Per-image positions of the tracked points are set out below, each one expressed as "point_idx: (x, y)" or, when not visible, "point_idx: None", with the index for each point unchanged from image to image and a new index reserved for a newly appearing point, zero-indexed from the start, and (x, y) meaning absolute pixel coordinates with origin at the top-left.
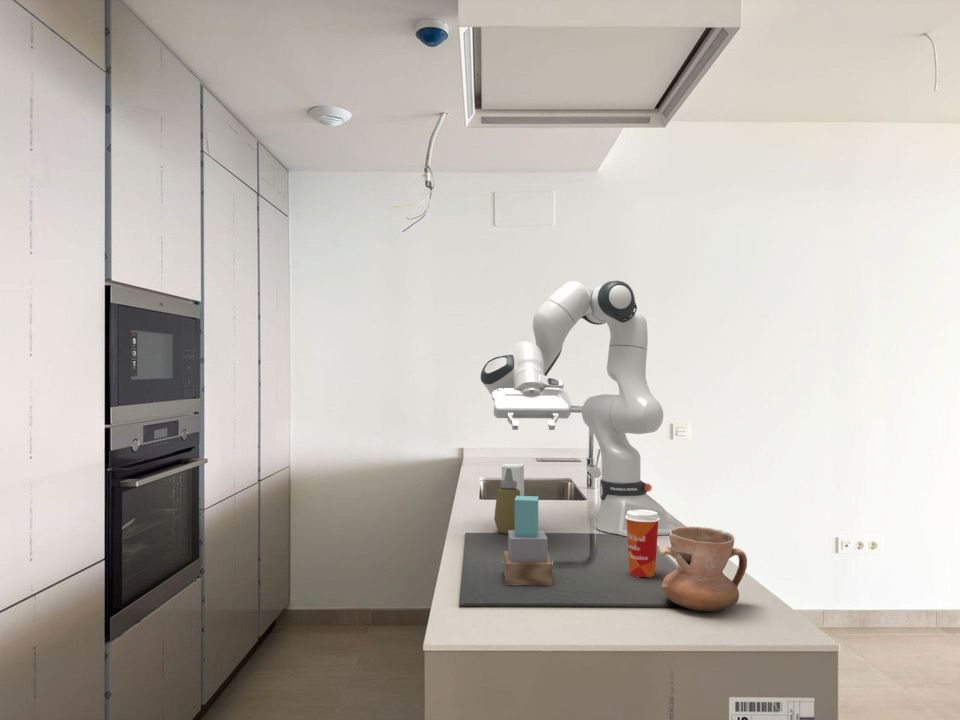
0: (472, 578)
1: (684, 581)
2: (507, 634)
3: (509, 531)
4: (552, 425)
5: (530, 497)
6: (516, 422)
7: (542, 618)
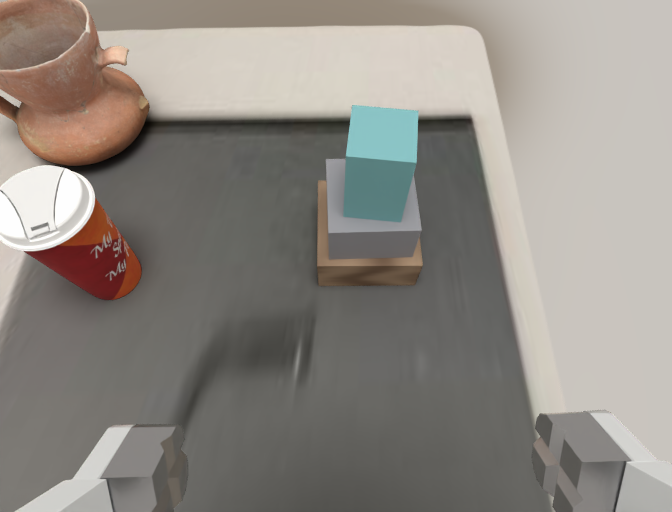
0: (474, 240)
1: (114, 75)
2: (395, 45)
3: (417, 219)
4: (142, 425)
5: (371, 142)
6: (584, 437)
7: (348, 84)
